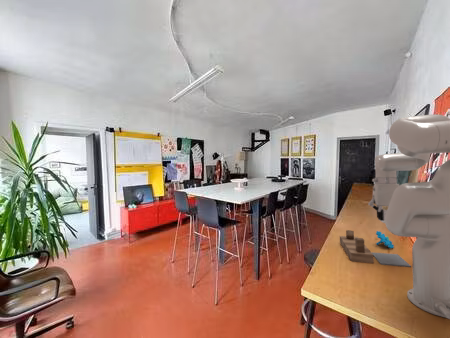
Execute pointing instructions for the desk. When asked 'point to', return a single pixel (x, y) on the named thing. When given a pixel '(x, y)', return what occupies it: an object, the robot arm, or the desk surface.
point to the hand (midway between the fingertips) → (387, 219)
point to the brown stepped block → (356, 248)
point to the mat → (390, 259)
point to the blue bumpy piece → (384, 240)
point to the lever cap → (384, 213)
